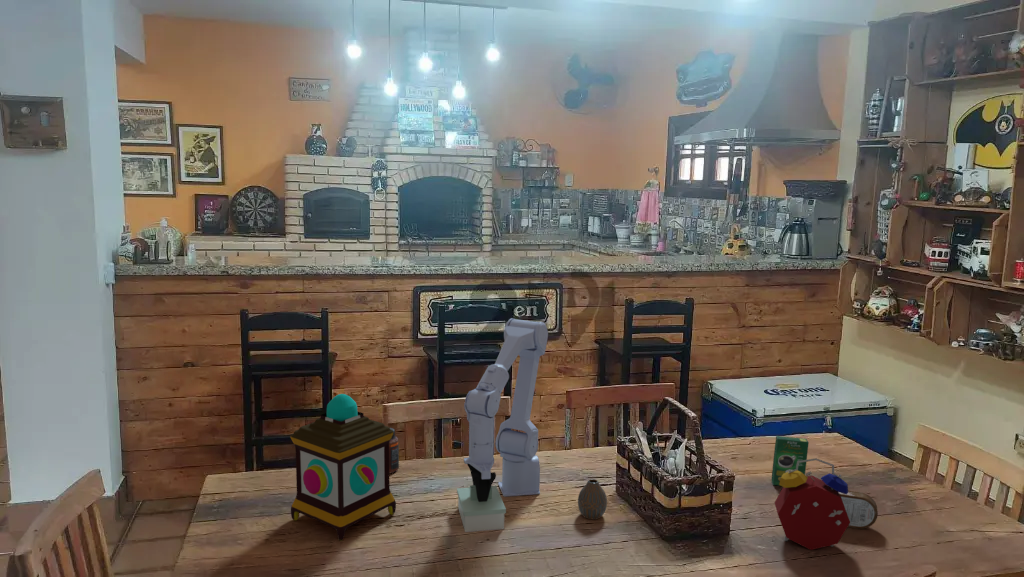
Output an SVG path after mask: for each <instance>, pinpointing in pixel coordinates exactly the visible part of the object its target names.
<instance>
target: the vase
mask: <svg viewBox="0 0 1024 577" xmlns="http://www.w3.org/2000/svg"><path fill="white" fill-rule="evenodd" d="M578 493H579V494H578V496H577V497H578V498H577V506H578V510H579V512H580V513H581V515H582V516H583V517H584V518H586V519H588V520H597V519H600V518H602V516H604V515H605V512H606V509H607V507H608V498H607V494H606V491H605V489H603V487H602V486H601V484H600V482H599V480H597V479H595V478H591V479H588V481H587V482H586V484H585V485H584V486H583V487H582V488H581V489H580V491H579V492H578Z"/></svg>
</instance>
